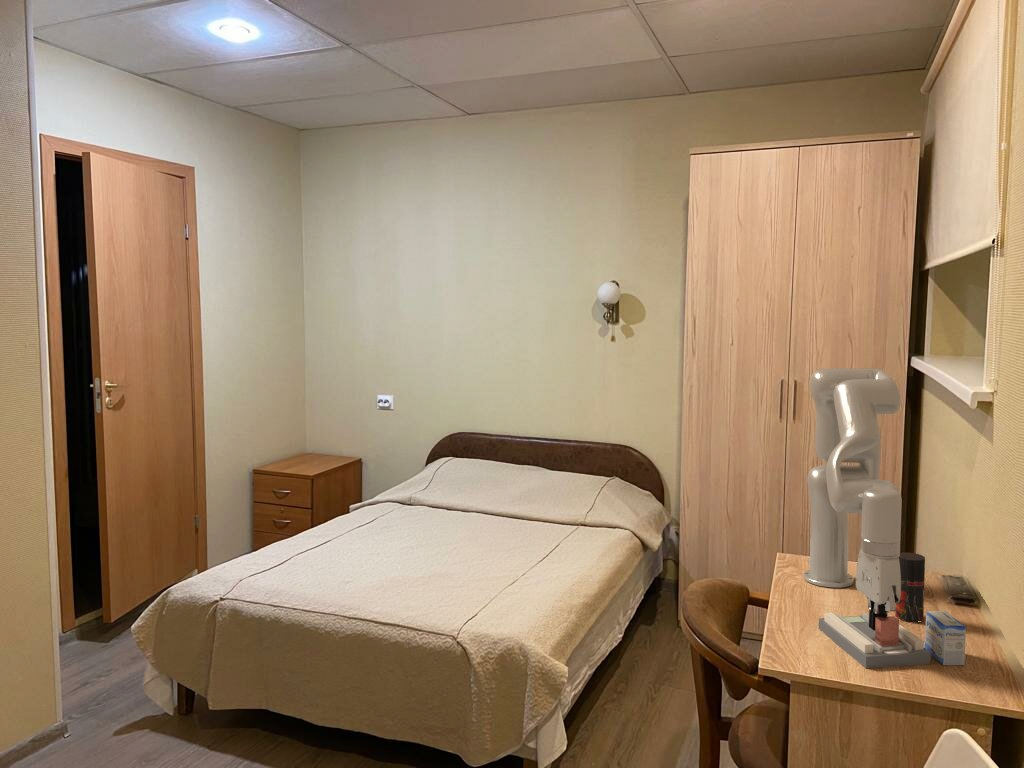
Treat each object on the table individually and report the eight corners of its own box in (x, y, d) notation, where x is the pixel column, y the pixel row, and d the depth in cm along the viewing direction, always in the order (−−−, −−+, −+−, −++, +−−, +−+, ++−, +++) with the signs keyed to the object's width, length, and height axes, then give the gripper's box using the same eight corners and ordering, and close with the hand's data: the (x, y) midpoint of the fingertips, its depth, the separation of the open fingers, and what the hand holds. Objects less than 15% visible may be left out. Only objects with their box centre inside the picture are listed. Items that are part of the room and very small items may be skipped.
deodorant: (926, 623, 179) (928, 560, 178) (899, 622, 180) (900, 559, 179) (918, 613, 185) (920, 553, 184) (892, 612, 186) (893, 552, 185)
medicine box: (923, 649, 166) (925, 610, 165) (945, 649, 166) (946, 610, 165) (943, 666, 158) (944, 625, 157) (965, 666, 158) (966, 625, 157)
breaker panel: (818, 628, 178) (818, 610, 177) (876, 625, 179) (876, 607, 179) (865, 668, 158) (866, 648, 157) (930, 663, 159) (930, 643, 159)
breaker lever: (868, 640, 165) (869, 614, 164) (891, 638, 165) (891, 613, 165) (882, 650, 160) (882, 624, 159) (905, 648, 160) (905, 622, 160)
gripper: (845, 536, 171) (843, 615, 173) (883, 559, 156) (880, 645, 158) (877, 534, 171) (875, 613, 173) (918, 557, 156) (915, 643, 159)
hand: (877, 628), depth 166 cm, fingers closed
